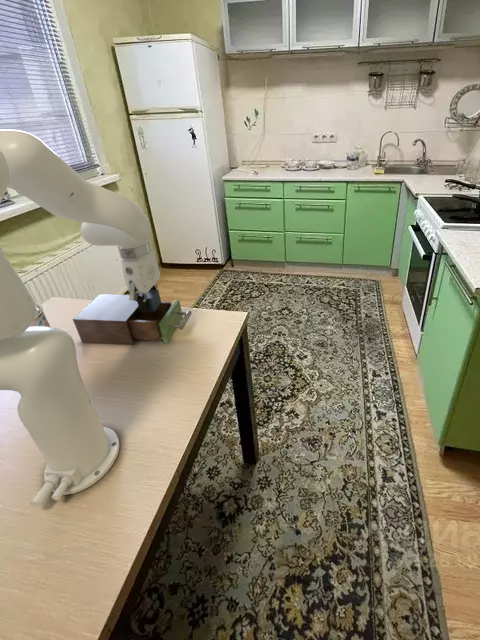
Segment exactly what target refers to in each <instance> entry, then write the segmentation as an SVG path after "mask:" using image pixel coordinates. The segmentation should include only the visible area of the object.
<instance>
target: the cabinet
mask: <svg viewBox="0 0 480 640" xmlns="http://www.w3.org/2000/svg"><path fill="white" fill-rule="evenodd" d="M138 309H139V306H138V303H137V302H136V301H135V300H129V294H106V293H99V295H98V296H96V297H95V298H94V299H93V300H92V301H91V302H90V303H89V304H87V305H86V306H85V307H84V308H83V309H82V310H81V311H80V312H79V313H78V314H76V316H74V317H73V318H72V321H73V324H74V326H75V328H76V331H77V333H78V336H79V339H80V341H81V343H82V344H94V345H95V344H96V345H97V344H98V345H115V346H116V345H117V346H134V345H135V344H136V343H137V341H138V340H139V339H133V337H132V334H131V330H130V327H129V324H128V321H129V320H130V319H131V317H132V316H133V315H134V314H135V313H136V311H137V310H138Z"/></svg>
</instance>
